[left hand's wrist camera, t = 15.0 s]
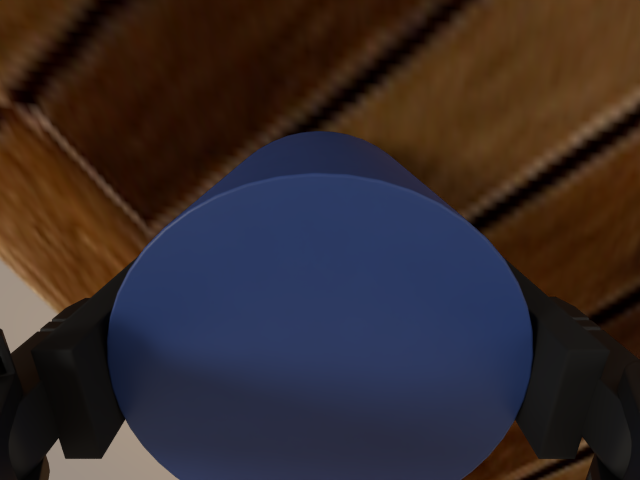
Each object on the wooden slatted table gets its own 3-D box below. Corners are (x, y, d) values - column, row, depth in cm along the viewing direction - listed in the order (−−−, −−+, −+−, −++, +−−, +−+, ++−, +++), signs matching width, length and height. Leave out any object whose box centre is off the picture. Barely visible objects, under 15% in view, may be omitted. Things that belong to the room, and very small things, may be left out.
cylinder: (256, 351, 18) (205, 551, 10) (178, 169, 15) (17, 252, 7) (444, 303, 17) (551, 483, 9) (401, 100, 14) (507, 105, 6)
